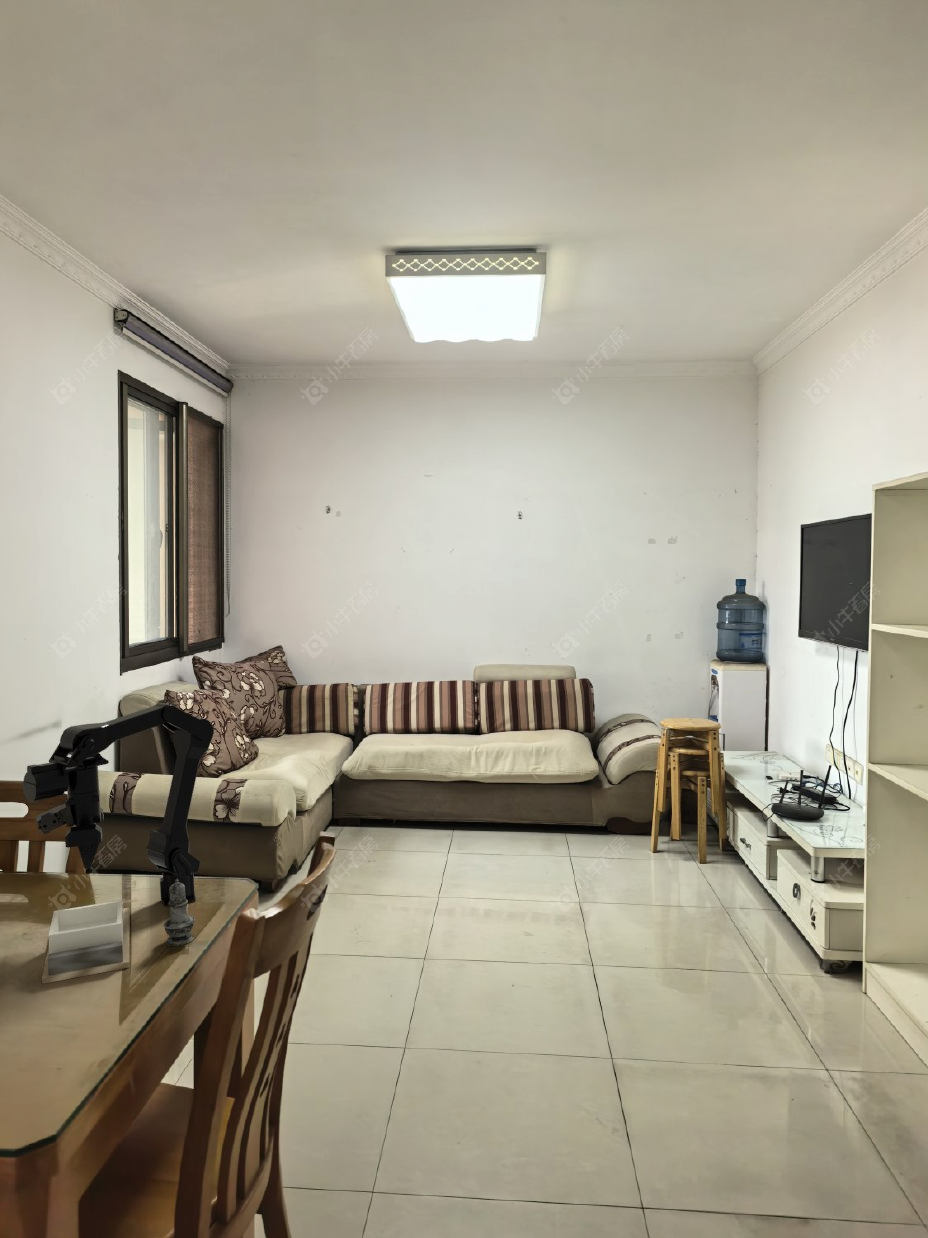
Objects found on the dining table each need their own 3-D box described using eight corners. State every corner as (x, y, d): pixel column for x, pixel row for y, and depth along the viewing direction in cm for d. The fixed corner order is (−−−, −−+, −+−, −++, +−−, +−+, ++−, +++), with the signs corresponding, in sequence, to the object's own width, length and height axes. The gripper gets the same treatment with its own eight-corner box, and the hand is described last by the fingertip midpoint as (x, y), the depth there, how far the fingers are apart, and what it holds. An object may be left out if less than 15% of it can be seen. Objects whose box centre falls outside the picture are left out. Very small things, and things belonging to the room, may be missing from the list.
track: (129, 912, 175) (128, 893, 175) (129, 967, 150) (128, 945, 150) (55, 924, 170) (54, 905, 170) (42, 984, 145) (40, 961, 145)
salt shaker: (202, 935, 162) (199, 874, 162) (182, 948, 157) (179, 885, 156) (177, 932, 164) (173, 872, 164) (156, 945, 159) (153, 882, 158)
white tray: (123, 927, 164) (122, 900, 164) (123, 952, 153) (121, 923, 153) (55, 938, 160) (54, 911, 160) (50, 965, 149) (48, 935, 148)
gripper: (41, 785, 170) (46, 860, 171) (32, 807, 153) (37, 891, 154) (101, 778, 175) (105, 852, 176) (99, 799, 157) (103, 881, 158)
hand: (87, 868), depth 166 cm, fingers closed
